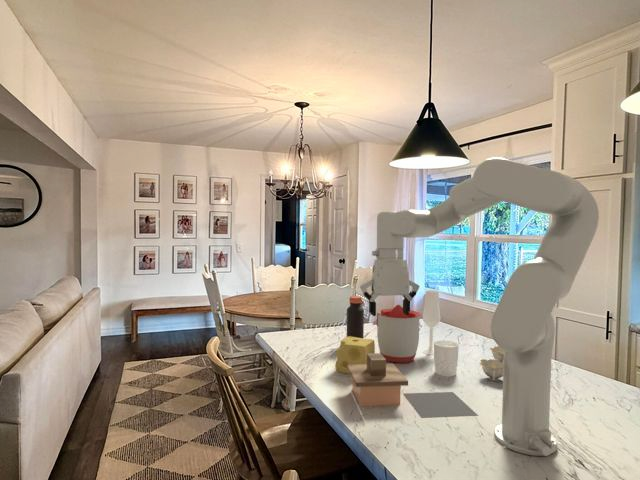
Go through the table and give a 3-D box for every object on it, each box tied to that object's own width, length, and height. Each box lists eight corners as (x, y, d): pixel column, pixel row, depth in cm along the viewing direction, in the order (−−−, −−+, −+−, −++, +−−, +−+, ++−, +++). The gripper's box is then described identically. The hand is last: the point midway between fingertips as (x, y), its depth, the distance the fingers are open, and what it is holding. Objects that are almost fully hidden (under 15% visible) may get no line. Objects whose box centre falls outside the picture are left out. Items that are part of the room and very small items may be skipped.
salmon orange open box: (400, 405, 110) (400, 383, 110) (360, 406, 109) (360, 384, 109) (388, 389, 121) (389, 369, 121) (352, 390, 120) (352, 370, 120)
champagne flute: (432, 356, 153) (434, 292, 153) (418, 351, 159) (419, 290, 158) (443, 352, 158) (444, 291, 157) (428, 348, 163) (430, 288, 162)
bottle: (363, 344, 168) (364, 295, 167) (363, 348, 161) (364, 298, 161) (346, 343, 169) (347, 295, 168) (346, 348, 162) (346, 298, 161)
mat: (478, 416, 104) (478, 415, 104) (421, 418, 102) (421, 417, 102) (452, 392, 119) (452, 391, 119) (402, 394, 117) (402, 393, 117)
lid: (408, 385, 108) (408, 364, 108) (356, 387, 107) (356, 365, 107) (393, 367, 122) (393, 348, 122) (347, 368, 121) (347, 349, 121)
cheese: (335, 372, 135) (335, 342, 135) (348, 362, 145) (348, 334, 144) (364, 377, 130) (364, 346, 130) (375, 367, 140) (376, 338, 140)
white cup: (459, 379, 130) (460, 348, 130) (434, 376, 132) (434, 346, 131) (456, 370, 138) (457, 341, 138) (432, 368, 139) (433, 339, 139)
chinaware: (488, 362, 152) (484, 318, 152) (539, 365, 144) (535, 318, 144) (479, 388, 127) (475, 335, 127) (540, 393, 119) (535, 336, 120)
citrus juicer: (377, 349, 161) (378, 299, 160) (422, 355, 154) (423, 302, 154) (366, 361, 146) (367, 305, 146) (415, 368, 140) (416, 310, 139)
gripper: (363, 255, 111) (363, 318, 112) (424, 255, 114) (423, 316, 114) (357, 254, 119) (357, 312, 119) (414, 254, 121) (413, 311, 121)
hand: (389, 314), depth 117 cm, fingers open, 9 cm apart
